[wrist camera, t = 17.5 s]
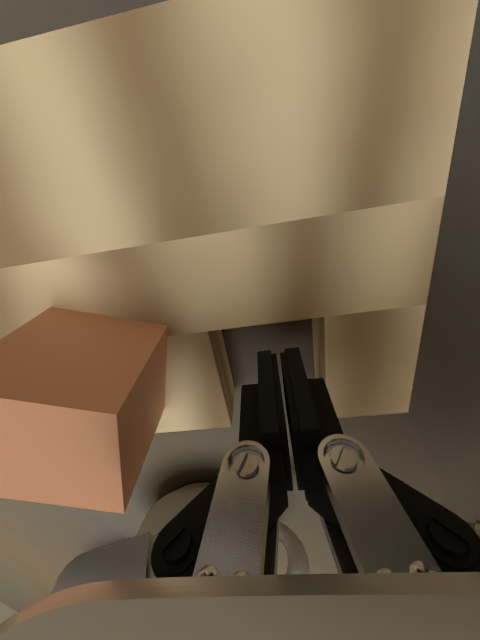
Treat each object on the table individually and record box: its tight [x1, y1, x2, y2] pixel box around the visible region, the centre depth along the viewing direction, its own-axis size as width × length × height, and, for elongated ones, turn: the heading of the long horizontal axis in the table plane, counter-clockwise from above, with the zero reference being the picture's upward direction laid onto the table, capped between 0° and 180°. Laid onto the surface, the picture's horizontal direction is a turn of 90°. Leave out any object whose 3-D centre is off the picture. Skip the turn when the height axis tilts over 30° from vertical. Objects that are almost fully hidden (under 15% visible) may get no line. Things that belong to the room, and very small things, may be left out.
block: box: [0, 307, 168, 514], centre depth 11 cm, size 5×5×5 cm
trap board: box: [0, 0, 478, 433], centre depth 12 cm, size 28×16×5 cm, turn 99°
